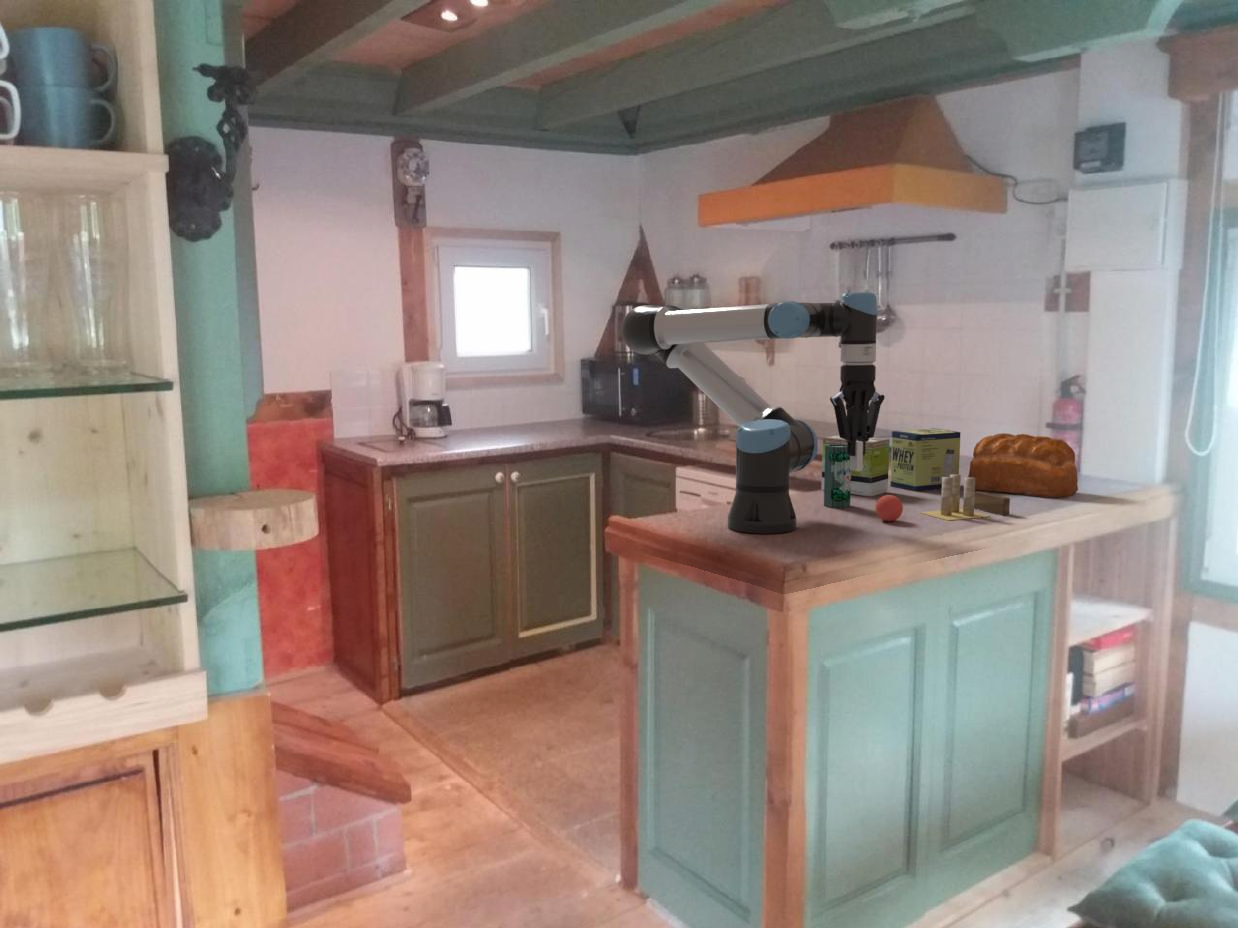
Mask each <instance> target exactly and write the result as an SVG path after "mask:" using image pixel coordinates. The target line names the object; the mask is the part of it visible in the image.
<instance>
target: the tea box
mask: <svg viewBox="0 0 1238 928" xmlns="http://www.w3.org/2000/svg"><path fill="white" fill-rule="evenodd" d="M890 441H891V440H890V439H889V438H883V437H881V438H880V437H873V438H869V440H868V441H866V448H865V449H866V450H865V455H863V469H862V471H853V470H851V495H857V496H862V497H873V496H878V495H882V494H884V493H887V492H888V487H889V471H890V469H889V466H890V465H889V463H890ZM830 444H845V445H848V442H847V440H845V439H843V438H840V436H839V434H837V435H833V436H827V437H822V454H821V455H822V457H821V459H822V461H821V491H824V478H825V445H830Z"/></svg>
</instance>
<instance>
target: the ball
mask: <svg viewBox="0 0 1238 928" xmlns="http://www.w3.org/2000/svg"><path fill="white" fill-rule="evenodd" d="M903 510H904V506H903V502H902V501H901V500H900V498H898V496H895V495H894V494H886V495H883V496H881V497H879V499H878V500H877V501H876V504H875V513H876V515H877V516H878V517H879V518H880V519H881V520H882V521H885V522H894V521H896V520H898V519H900V517H901V516H902V513H903Z"/></svg>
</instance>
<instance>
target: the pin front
mask: <svg viewBox="0 0 1238 928" xmlns="http://www.w3.org/2000/svg"><path fill="white" fill-rule="evenodd" d="M952 491H953V478H952V477H942V489H941V499H940V500H941V501H940V510H941V515H943V516H951V515H952Z"/></svg>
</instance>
